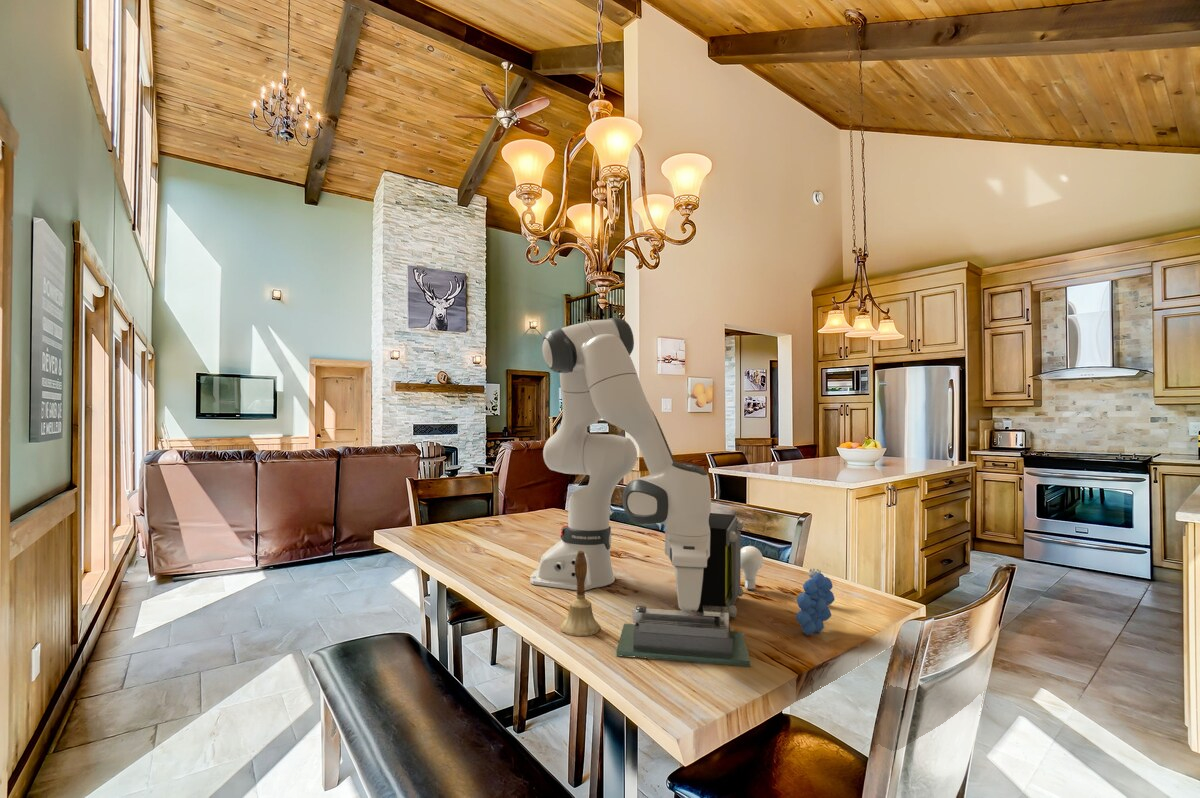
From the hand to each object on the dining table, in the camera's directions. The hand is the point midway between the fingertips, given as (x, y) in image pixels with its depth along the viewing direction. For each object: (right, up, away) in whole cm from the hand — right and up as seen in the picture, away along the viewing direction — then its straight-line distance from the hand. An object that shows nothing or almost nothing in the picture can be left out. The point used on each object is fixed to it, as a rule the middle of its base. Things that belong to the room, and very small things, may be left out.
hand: (685, 616), depth 107 cm
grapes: (+27, -6, +6) cm, 28 cm away
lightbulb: (+21, -6, +32) cm, 39 cm away
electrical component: (+10, -6, +19) cm, 23 cm away
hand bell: (-21, -5, +6) cm, 22 cm away
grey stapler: (-1, -5, -2) cm, 5 cm away
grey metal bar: (-3, -1, -2) cm, 3 cm away
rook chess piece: (+34, -6, +22) cm, 41 cm away
